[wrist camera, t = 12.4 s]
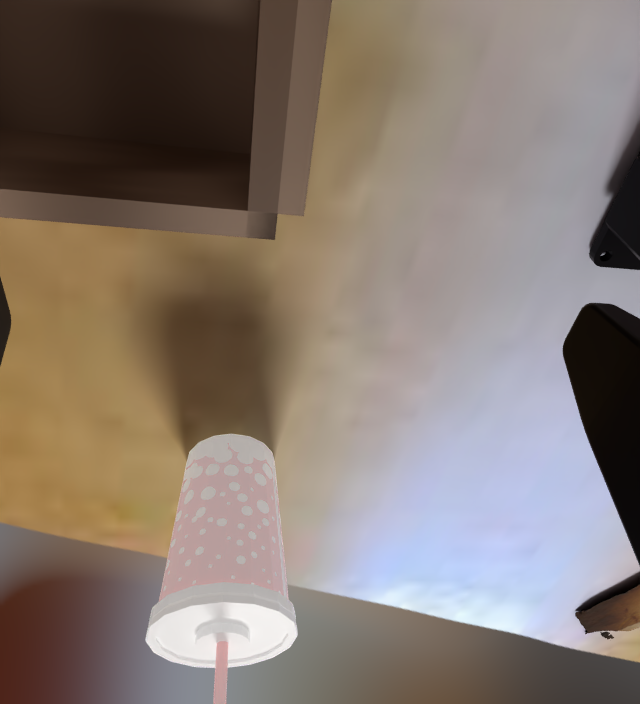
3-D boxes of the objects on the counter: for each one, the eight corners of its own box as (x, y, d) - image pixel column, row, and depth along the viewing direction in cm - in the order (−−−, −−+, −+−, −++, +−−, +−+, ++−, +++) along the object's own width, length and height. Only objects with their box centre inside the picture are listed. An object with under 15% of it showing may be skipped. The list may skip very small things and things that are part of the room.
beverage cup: (150, 441, 28) (84, 786, 18) (266, 410, 27) (270, 751, 17) (201, 507, 32) (172, 821, 22) (303, 482, 31) (325, 794, 21)
